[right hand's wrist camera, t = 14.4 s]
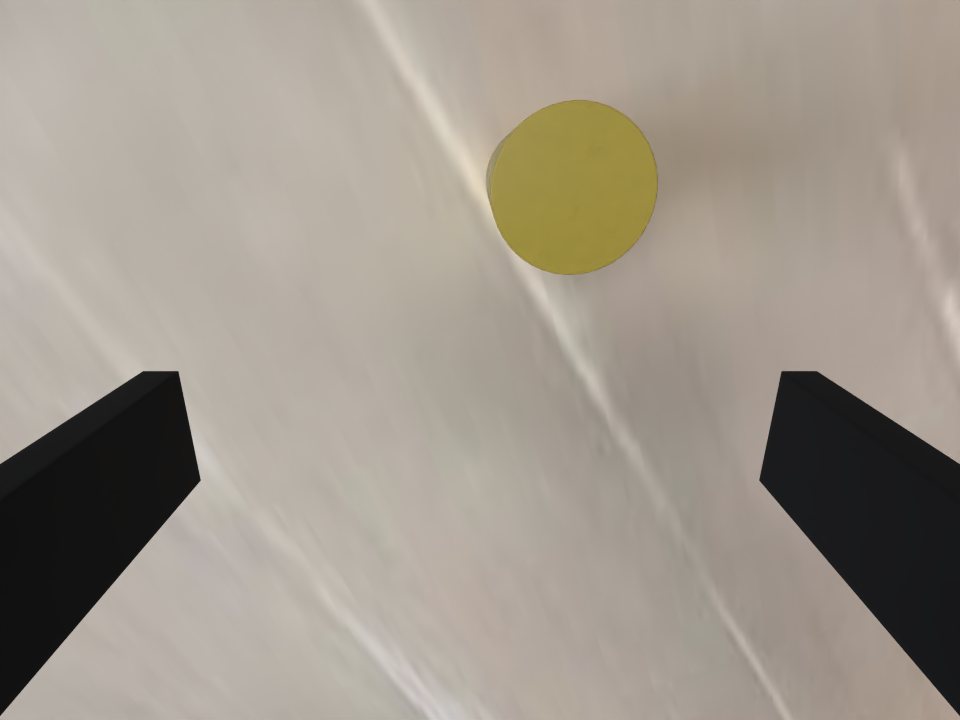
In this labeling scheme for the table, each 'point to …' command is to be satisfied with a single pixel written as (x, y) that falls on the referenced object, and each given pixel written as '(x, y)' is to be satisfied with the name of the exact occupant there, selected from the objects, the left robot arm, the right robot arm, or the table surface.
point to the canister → (572, 187)
